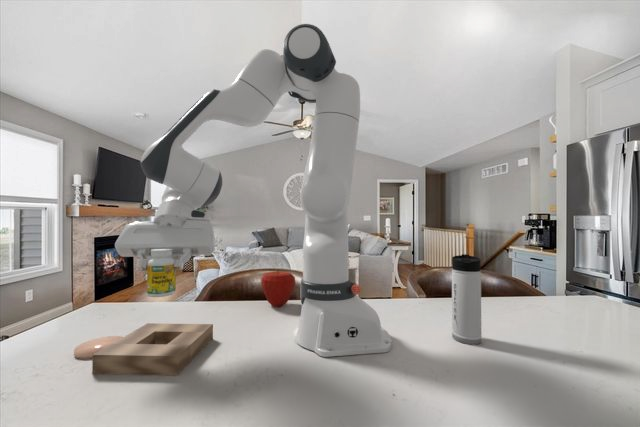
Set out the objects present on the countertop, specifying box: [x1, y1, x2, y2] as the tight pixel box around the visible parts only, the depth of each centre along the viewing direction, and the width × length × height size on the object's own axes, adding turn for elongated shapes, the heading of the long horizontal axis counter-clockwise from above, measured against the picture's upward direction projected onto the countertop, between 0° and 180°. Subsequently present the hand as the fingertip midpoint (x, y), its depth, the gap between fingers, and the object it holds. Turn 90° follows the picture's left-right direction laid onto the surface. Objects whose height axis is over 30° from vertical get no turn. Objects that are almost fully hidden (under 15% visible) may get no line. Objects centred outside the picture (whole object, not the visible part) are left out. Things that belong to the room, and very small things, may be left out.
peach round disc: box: [73, 335, 124, 360], centre depth 63 cm, size 9×9×1 cm
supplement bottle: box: [146, 249, 177, 298], centre depth 61 cm, size 5×5×10 cm
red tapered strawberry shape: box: [260, 269, 296, 308], centre depth 95 cm, size 11×11×12 cm
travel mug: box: [451, 253, 482, 345], centre depth 69 cm, size 6×7×20 cm
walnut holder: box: [91, 322, 214, 376], centre depth 60 cm, size 16×16×4 cm
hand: (160, 268), depth 60 cm, fingers closed on supplement bottle, 5 cm apart
